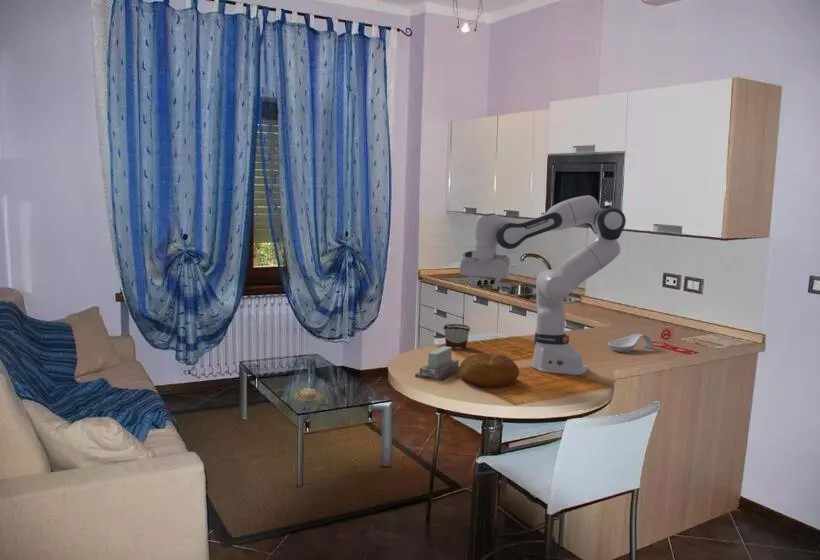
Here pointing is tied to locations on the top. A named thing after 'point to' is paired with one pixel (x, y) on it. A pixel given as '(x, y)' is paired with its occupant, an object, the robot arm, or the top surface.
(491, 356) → the bread
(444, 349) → the pale green rectangular block
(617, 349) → the spoon rest
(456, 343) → the food container
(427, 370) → the grey rectangular tray
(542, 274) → the robot arm
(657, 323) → the top surface
